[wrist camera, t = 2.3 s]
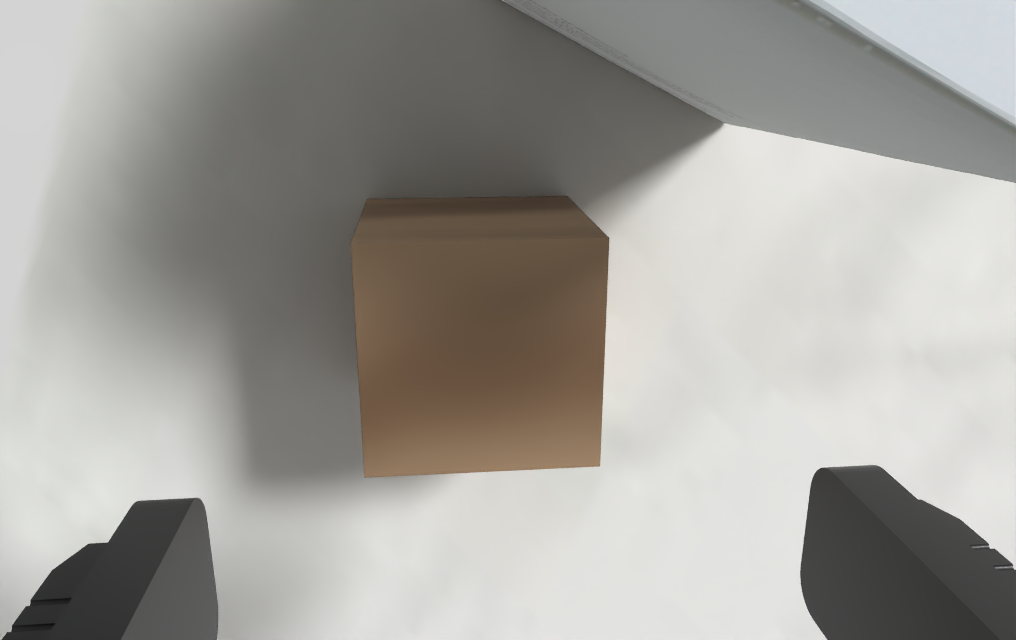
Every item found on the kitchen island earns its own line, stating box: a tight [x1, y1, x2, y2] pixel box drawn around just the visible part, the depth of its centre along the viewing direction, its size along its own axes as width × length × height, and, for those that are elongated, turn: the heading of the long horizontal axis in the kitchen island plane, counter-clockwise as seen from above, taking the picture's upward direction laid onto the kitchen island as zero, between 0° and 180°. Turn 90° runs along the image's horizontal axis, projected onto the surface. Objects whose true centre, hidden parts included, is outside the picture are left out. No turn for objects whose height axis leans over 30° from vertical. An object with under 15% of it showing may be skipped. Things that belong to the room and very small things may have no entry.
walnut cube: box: [351, 196, 609, 478], centre depth 19 cm, size 5×5×5 cm
